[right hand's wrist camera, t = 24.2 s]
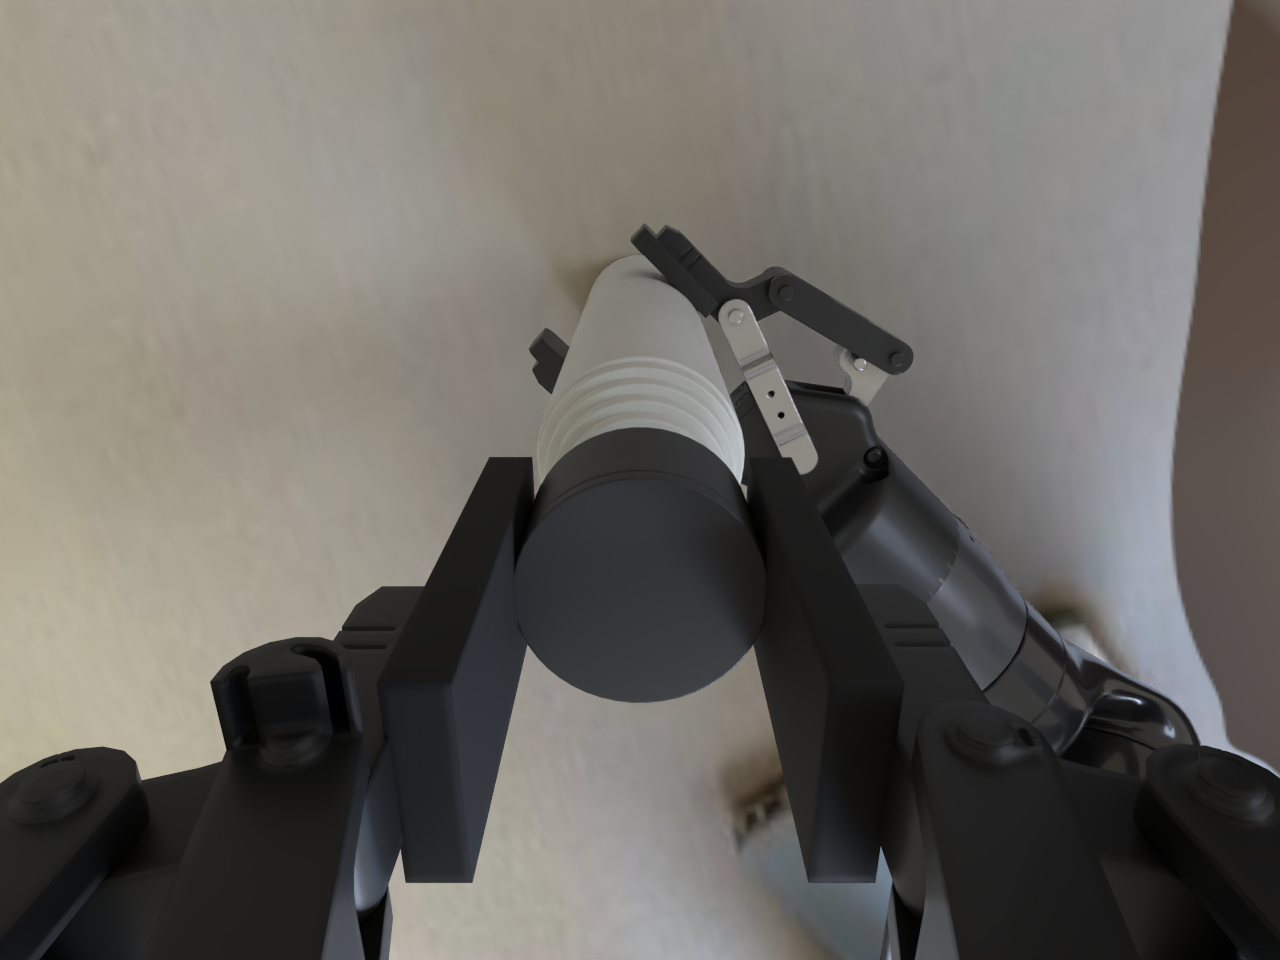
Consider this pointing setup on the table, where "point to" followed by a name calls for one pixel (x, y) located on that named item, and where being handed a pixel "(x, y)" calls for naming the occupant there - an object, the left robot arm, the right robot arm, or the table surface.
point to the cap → (640, 568)
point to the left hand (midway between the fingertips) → (587, 288)
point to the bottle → (639, 370)
